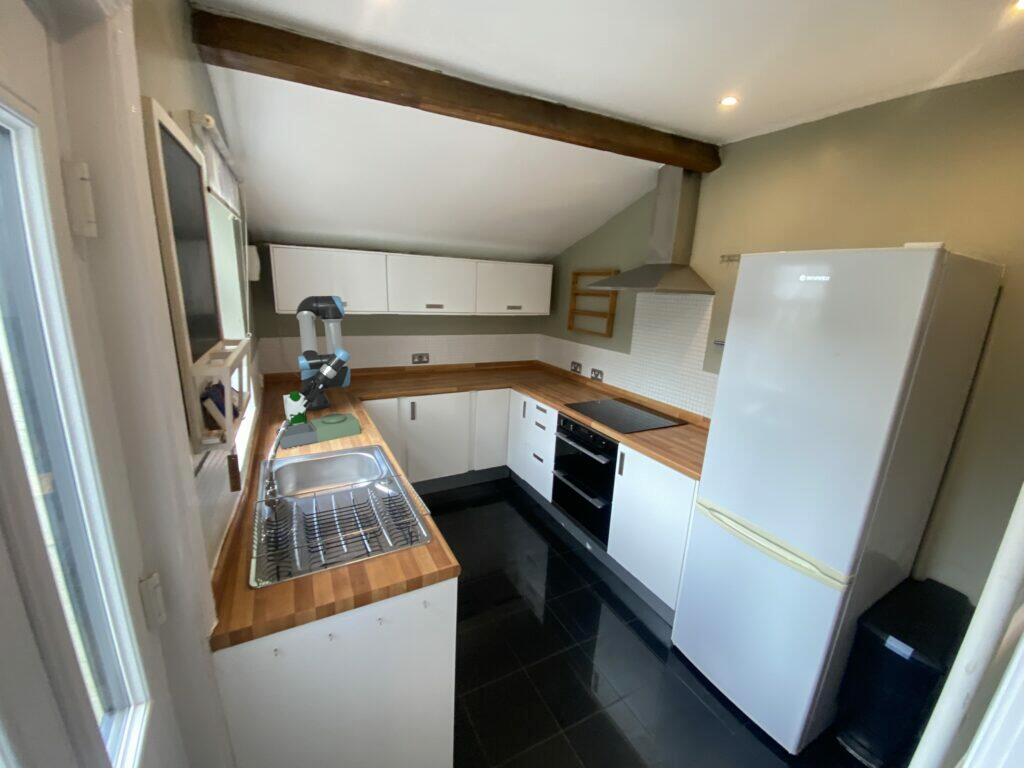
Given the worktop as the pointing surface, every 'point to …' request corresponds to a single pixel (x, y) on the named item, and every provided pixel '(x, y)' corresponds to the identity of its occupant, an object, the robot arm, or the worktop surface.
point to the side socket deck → (320, 430)
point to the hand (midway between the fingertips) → (296, 408)
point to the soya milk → (294, 408)
